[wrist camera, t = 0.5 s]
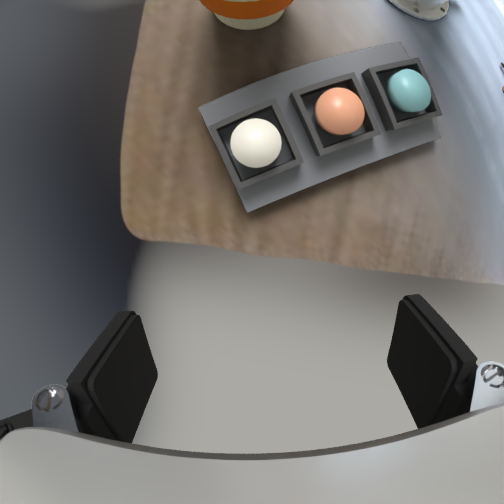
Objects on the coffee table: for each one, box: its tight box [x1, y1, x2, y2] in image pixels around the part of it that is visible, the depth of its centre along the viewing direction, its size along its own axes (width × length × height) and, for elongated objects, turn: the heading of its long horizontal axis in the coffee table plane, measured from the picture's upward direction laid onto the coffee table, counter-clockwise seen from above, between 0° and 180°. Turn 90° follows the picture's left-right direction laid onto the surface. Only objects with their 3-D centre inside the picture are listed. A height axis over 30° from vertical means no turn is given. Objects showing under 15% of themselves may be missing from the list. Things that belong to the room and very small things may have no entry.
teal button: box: [385, 69, 431, 113], centre depth 24 cm, size 5×5×2 cm
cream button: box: [230, 118, 282, 168], centre depth 27 cm, size 5×5×2 cm
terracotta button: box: [313, 88, 364, 135], centre depth 26 cm, size 5×5×2 cm
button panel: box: [198, 42, 442, 213], centre depth 28 cm, size 26×13×4 cm, turn 114°
